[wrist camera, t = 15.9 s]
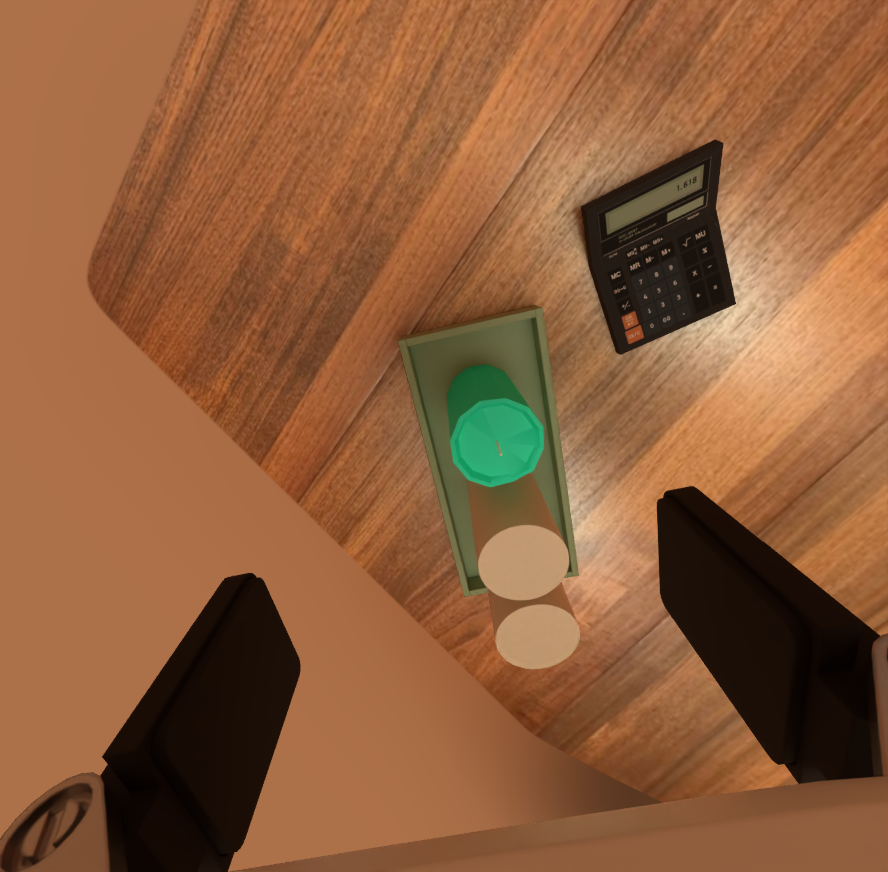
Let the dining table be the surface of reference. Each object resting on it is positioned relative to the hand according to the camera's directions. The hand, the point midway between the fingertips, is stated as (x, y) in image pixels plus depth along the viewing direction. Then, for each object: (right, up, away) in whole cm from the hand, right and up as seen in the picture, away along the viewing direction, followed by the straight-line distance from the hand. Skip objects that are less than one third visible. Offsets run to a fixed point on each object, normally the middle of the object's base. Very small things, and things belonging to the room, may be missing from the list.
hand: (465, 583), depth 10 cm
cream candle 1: (+5, -1, +29) cm, 29 cm away
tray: (+4, +1, +29) cm, 29 cm away
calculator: (+16, +17, +23) cm, 33 cm away
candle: (+3, +7, +26) cm, 27 cm away
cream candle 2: (+6, -7, +31) cm, 33 cm away
